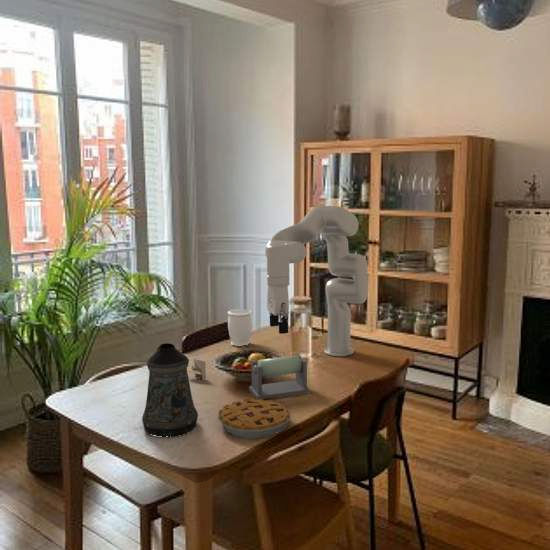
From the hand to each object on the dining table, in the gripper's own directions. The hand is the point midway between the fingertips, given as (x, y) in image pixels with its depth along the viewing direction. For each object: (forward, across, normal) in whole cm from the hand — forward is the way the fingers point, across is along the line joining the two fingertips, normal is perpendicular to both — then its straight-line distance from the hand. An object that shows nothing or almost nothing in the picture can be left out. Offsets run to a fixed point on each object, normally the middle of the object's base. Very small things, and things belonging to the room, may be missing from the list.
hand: (278, 329), depth 199 cm
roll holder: (+22, 0, 0) cm, 22 cm away
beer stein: (+22, +14, -41) cm, 49 cm away
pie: (+22, +23, -16) cm, 36 cm away
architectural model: (+23, -22, -24) cm, 40 cm away
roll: (+16, 0, 0) cm, 16 cm away
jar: (+22, -59, +2) cm, 63 cm away
